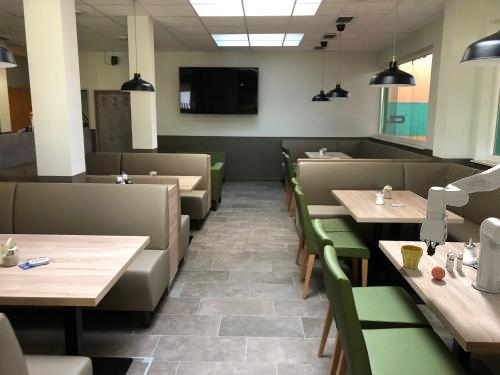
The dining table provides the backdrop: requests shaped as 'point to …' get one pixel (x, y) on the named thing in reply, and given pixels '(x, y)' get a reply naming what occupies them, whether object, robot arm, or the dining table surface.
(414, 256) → the plant pot
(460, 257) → the rear right pin
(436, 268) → the ball
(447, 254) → the rear left pin
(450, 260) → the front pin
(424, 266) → the dining table surface
